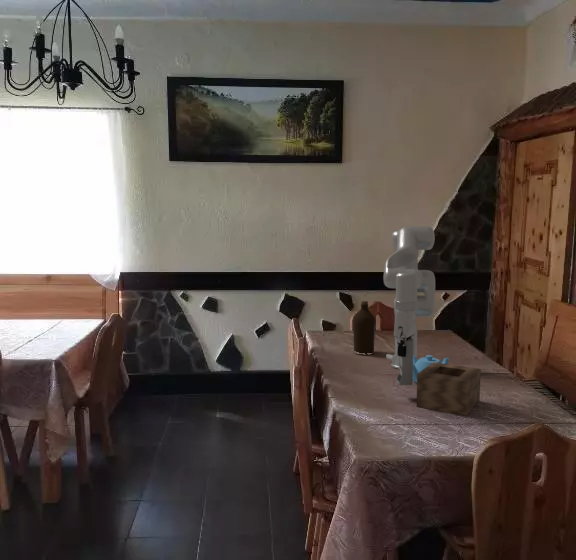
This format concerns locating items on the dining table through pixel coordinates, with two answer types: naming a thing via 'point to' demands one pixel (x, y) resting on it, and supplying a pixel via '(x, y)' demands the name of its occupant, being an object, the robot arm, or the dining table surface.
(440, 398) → the well block
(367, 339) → the olive oil
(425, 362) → the teapot
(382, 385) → the dining table surface
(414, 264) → the robot arm
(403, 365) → the vintage mobile phone
